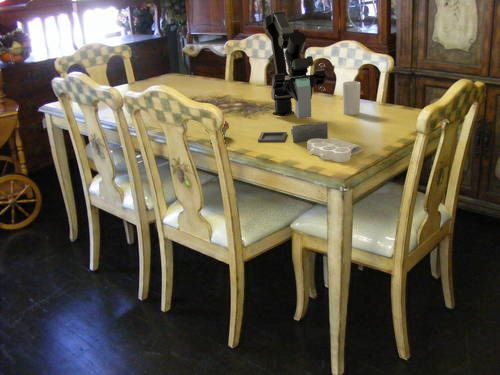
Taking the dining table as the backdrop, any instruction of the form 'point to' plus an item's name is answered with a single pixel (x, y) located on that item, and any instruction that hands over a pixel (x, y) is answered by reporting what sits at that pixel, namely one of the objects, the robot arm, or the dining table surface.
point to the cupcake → (224, 127)
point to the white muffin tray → (333, 149)
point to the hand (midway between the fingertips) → (303, 99)
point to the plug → (303, 98)
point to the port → (309, 132)
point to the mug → (351, 98)
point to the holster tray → (272, 137)
